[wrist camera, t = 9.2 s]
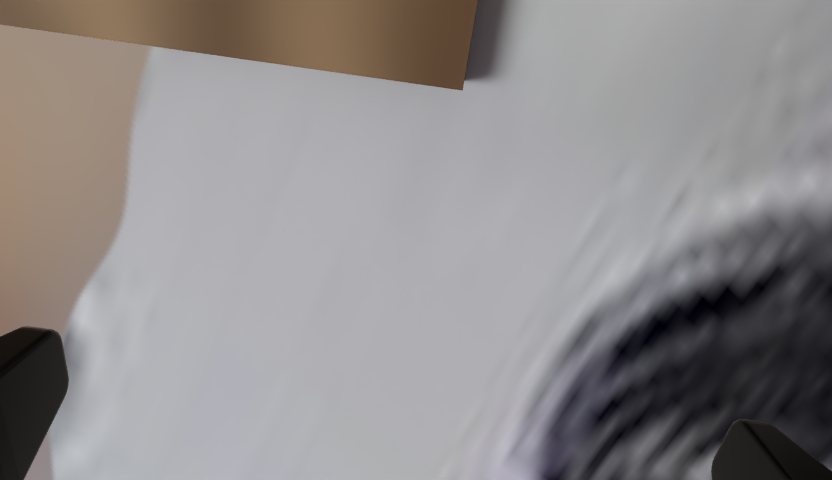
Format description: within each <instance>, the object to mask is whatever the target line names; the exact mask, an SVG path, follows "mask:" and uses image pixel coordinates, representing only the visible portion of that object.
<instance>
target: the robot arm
mask: <svg viewBox="0 0 832 480" xmlns="http://www.w3.org/2000/svg"><path fill="white" fill-rule="evenodd" d="M68 382H69V378H68V371H67V366H66V360H65V354H64V349H63V343H62V339H61V336H60V335H59V333H58V332H57V331H55V330H52V329H45V328H37V327H21V328H19V329H16V330H14V331H12V332H10V333H7V334H5V335H3V336H1V337H0V480H24V478H25V476H26V474H27V472H28V470H29V468H30V466H31V464H32V462H33V460H34V458H35V456H36V454H37V452H38V450H39V448H40V446H41V444H42V442H43V440H44V438H45V436H46V434H47V432H48V430H49V428H50V426H51V424H52V422H53V420H54V418H55V416H56V414H57V412H58V410H59V408H60V406H61V404H62V402H63V400H64V397H65V395H66V392H67V389H68ZM711 473H712V480H832V471H831V470H829V469H828V468H827V467H826V466H824V465H823V464H822V463H820V462H819V461H818V460H817V459H815V458H814V457H813V456H812V455H810V454H809V453H808V452H806V451H805V450H804V449H803V448H801V447H800V446H799V445H798V444H796V443H795V442H794V441H792V440H791V439H790V438H789V437H787V436H786V435H785V434H784V433H782V432H781V431H780V430H778V429H777V428H776V427H775V426H773V425H772V424H770V423H767V422H763V421H756V420H748V419H738V420H736V421H735V422H733V423H732V425H731V426H730V428H729V430H728V432H727V434H726V436H725V438H724V440H723V442H722V444H721V446H720V448H719V450H718V451H717V453H716V455H715V457H714V460H713V463H712V470H711Z"/></svg>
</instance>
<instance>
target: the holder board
mask: <svg viewBox="0 0 832 480" xmlns="http://www.w3.org/2000/svg"><path fill="white" fill-rule="evenodd" d="M477 2H478V0H0V24H2V25H9V26H16V27H22V28H29V29H36V30H44V31H50V32H58V33H65V34H72V35H79V36H85V37H93V38H100V39H107V40H114V41H121V42H128V43H135V44H142V45H148V46H155V47H162V48H169V49H176V50H183V51H190V52H197V53H204V54H211V55H218V56H225V57H232V58H239V59H246V60H253V61H260V62H267V63H274V64H281V65H289V66H296V67H303V68H310V69H317V70H324V71H331V72H338V73H345V74H352V75H359V76H366V77H373V78H380V79H387V80H394V81H401V82H408V83H415V84H422V85H429V86H436V87H443V88H450V89H457V90H463V84H464V79H465V73H466V67H467V61H468V55H469V49H470V43H471V37H472V32H473V26H474V20H475V14H476V8H477Z"/></svg>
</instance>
